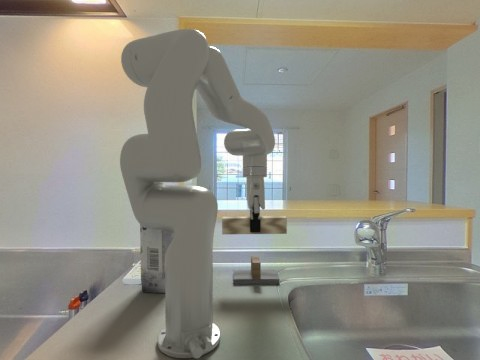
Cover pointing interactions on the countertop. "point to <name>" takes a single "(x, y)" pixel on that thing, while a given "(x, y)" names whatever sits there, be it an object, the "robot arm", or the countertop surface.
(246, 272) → the grey slab with post
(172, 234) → the juice carton
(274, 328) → the countertop surface
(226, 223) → the beech bar
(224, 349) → the countertop surface
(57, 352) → the countertop surface
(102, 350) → the countertop surface
